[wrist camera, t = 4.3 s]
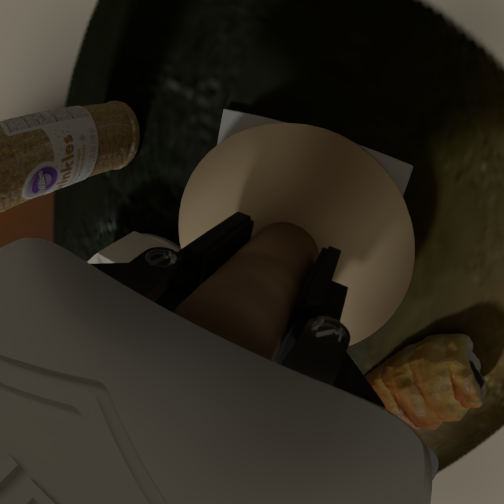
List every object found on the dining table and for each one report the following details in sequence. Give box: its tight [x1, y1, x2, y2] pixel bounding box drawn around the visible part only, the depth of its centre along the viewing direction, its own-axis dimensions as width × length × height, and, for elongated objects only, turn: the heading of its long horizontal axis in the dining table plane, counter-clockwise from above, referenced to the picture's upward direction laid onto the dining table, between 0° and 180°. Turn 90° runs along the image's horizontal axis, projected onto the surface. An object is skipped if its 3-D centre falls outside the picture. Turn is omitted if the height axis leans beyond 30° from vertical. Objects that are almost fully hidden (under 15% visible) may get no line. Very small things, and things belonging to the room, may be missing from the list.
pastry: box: [364, 333, 486, 430], centre depth 14 cm, size 9×7×4 cm
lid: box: [174, 123, 415, 361], centre depth 11 cm, size 11×11×7 cm
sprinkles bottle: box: [0, 101, 140, 213], centre depth 11 cm, size 5×5×13 cm
